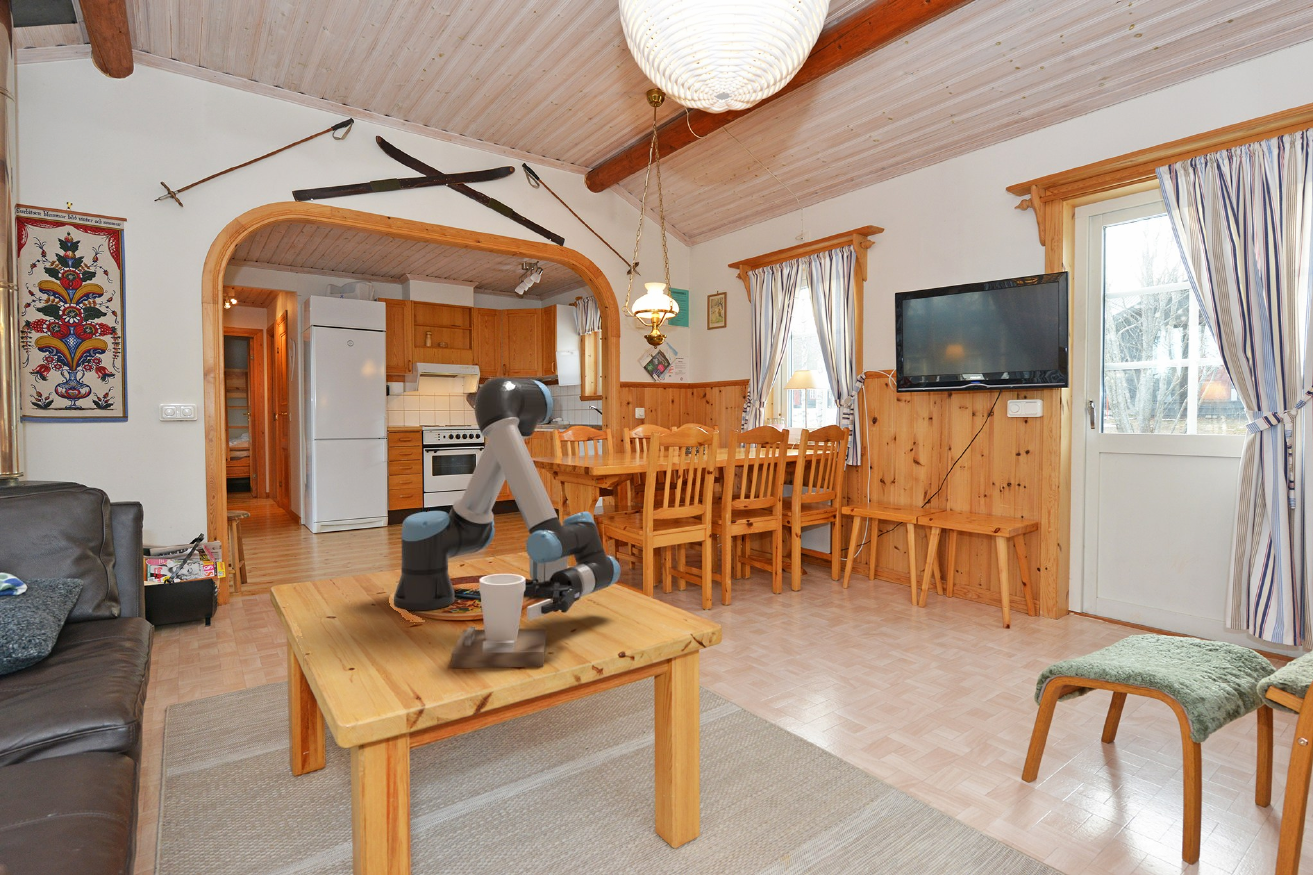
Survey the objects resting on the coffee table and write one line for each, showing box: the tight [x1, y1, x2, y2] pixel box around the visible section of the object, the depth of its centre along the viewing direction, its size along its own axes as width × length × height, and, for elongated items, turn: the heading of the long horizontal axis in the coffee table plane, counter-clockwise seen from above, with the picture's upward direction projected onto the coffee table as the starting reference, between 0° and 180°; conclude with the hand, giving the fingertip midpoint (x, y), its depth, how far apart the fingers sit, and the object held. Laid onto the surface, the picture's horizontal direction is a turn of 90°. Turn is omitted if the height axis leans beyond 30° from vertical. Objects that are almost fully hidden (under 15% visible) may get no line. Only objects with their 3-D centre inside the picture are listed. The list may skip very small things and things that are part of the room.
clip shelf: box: [451, 626, 547, 669], centre depth 144 cm, size 18×14×5 cm
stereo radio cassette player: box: [529, 556, 570, 582], centre depth 197 cm, size 21×8×20 cm, turn 20°
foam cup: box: [478, 573, 527, 642], centre depth 144 cm, size 10×9×13 cm
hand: (504, 607), depth 143 cm, fingers open, 13 cm apart
